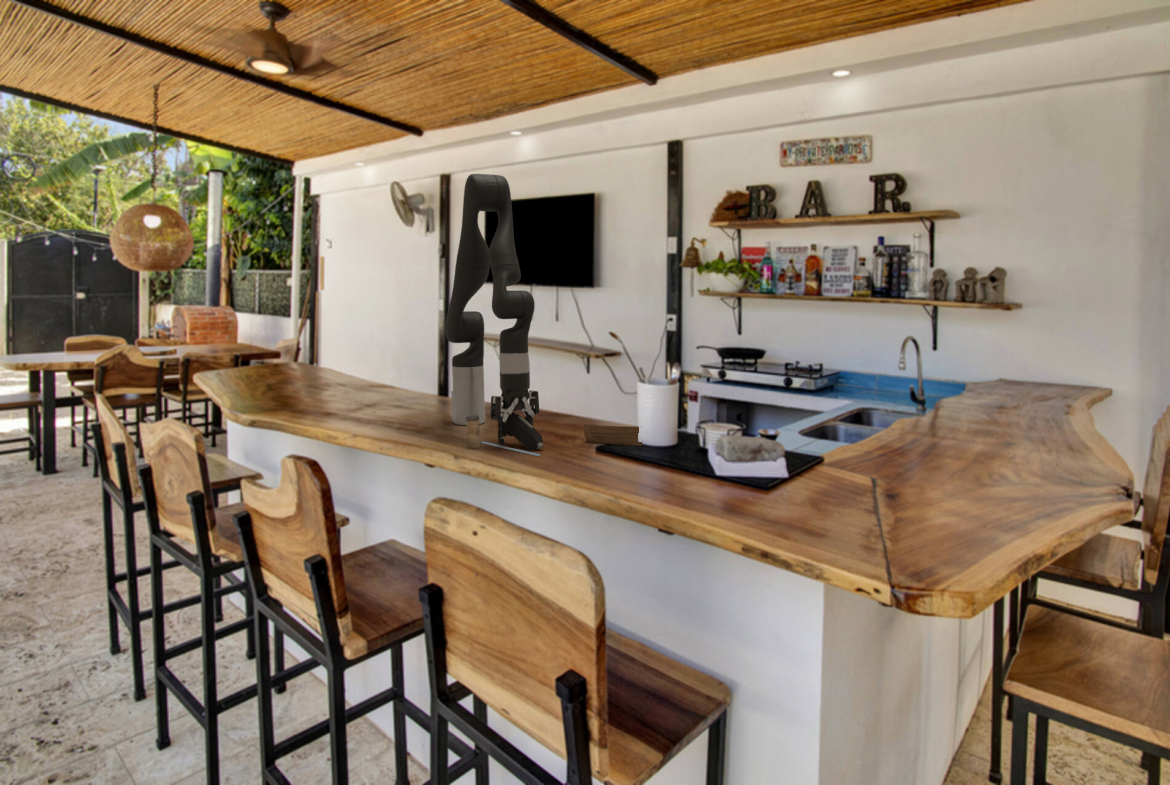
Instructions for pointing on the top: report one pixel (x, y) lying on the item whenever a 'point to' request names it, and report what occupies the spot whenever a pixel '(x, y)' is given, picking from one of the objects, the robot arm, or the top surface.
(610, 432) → the wood plank
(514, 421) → the gun
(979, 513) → the top surface
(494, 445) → the tape line
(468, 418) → the peg
